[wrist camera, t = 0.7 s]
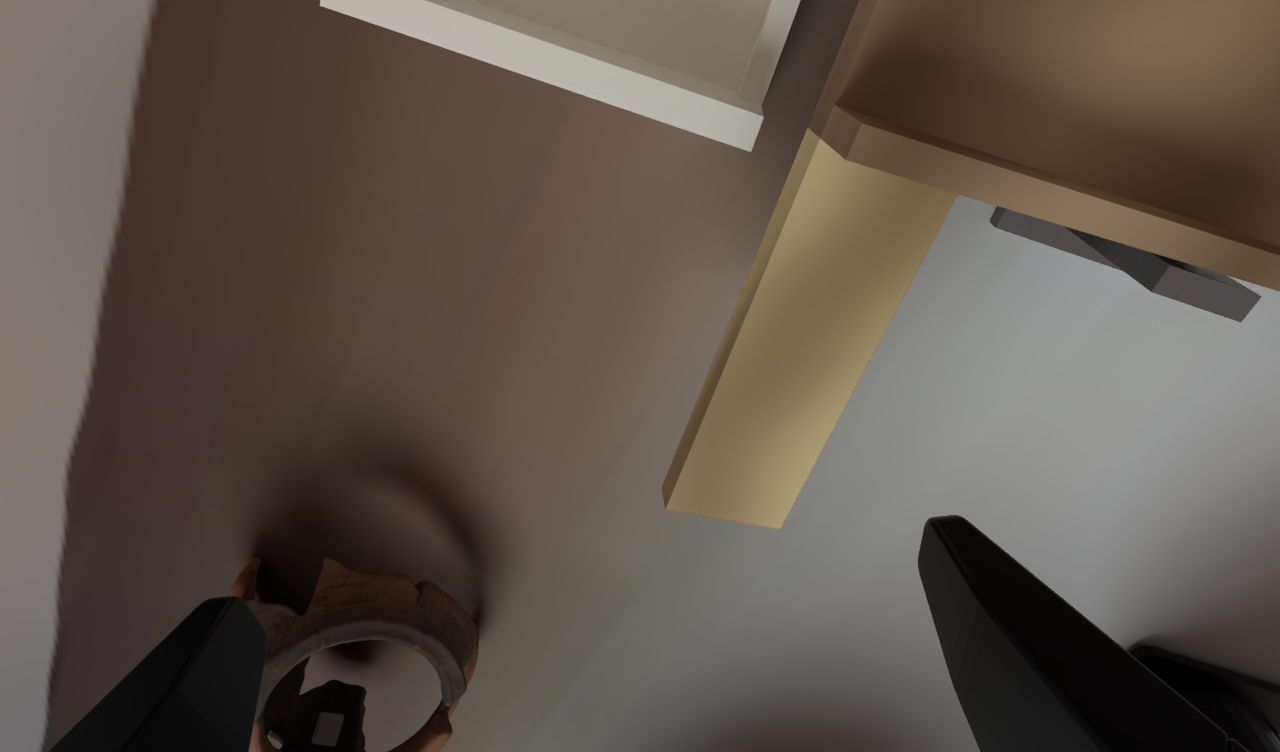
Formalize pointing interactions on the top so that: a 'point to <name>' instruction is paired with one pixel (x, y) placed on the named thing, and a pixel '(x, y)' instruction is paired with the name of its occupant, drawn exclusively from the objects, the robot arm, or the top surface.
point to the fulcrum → (1139, 265)
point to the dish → (617, 50)
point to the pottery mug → (347, 612)
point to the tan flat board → (979, 193)
